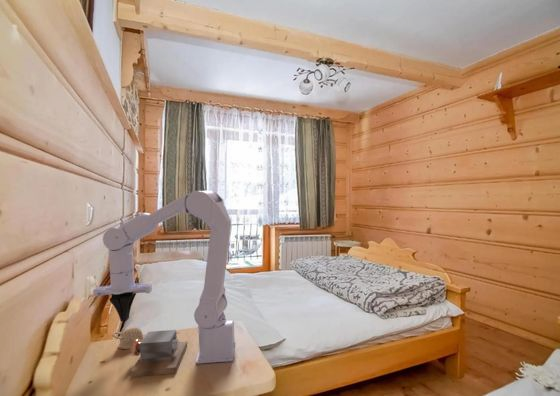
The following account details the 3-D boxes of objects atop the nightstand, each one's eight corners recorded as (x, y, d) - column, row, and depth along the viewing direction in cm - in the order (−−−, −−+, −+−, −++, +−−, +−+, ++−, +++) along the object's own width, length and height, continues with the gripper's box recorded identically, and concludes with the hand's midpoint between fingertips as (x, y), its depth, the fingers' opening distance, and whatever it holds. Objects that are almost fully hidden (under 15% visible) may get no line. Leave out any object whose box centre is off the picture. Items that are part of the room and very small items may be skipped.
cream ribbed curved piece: (146, 344, 87) (145, 326, 87) (114, 354, 82) (112, 335, 82) (143, 338, 90) (142, 321, 90) (111, 348, 85) (110, 329, 85)
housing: (187, 346, 85) (186, 324, 84) (176, 373, 73) (174, 347, 72) (149, 349, 84) (147, 326, 84) (131, 376, 72) (129, 350, 72)
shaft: (179, 347, 81) (179, 333, 80) (175, 356, 77) (175, 340, 76) (137, 350, 80) (136, 336, 79) (131, 359, 76) (130, 344, 75)
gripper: (85, 276, 77) (88, 328, 77) (144, 273, 78) (147, 324, 78) (99, 268, 84) (102, 316, 84) (153, 266, 85) (155, 313, 85)
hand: (124, 319), depth 82 cm, fingers closed
